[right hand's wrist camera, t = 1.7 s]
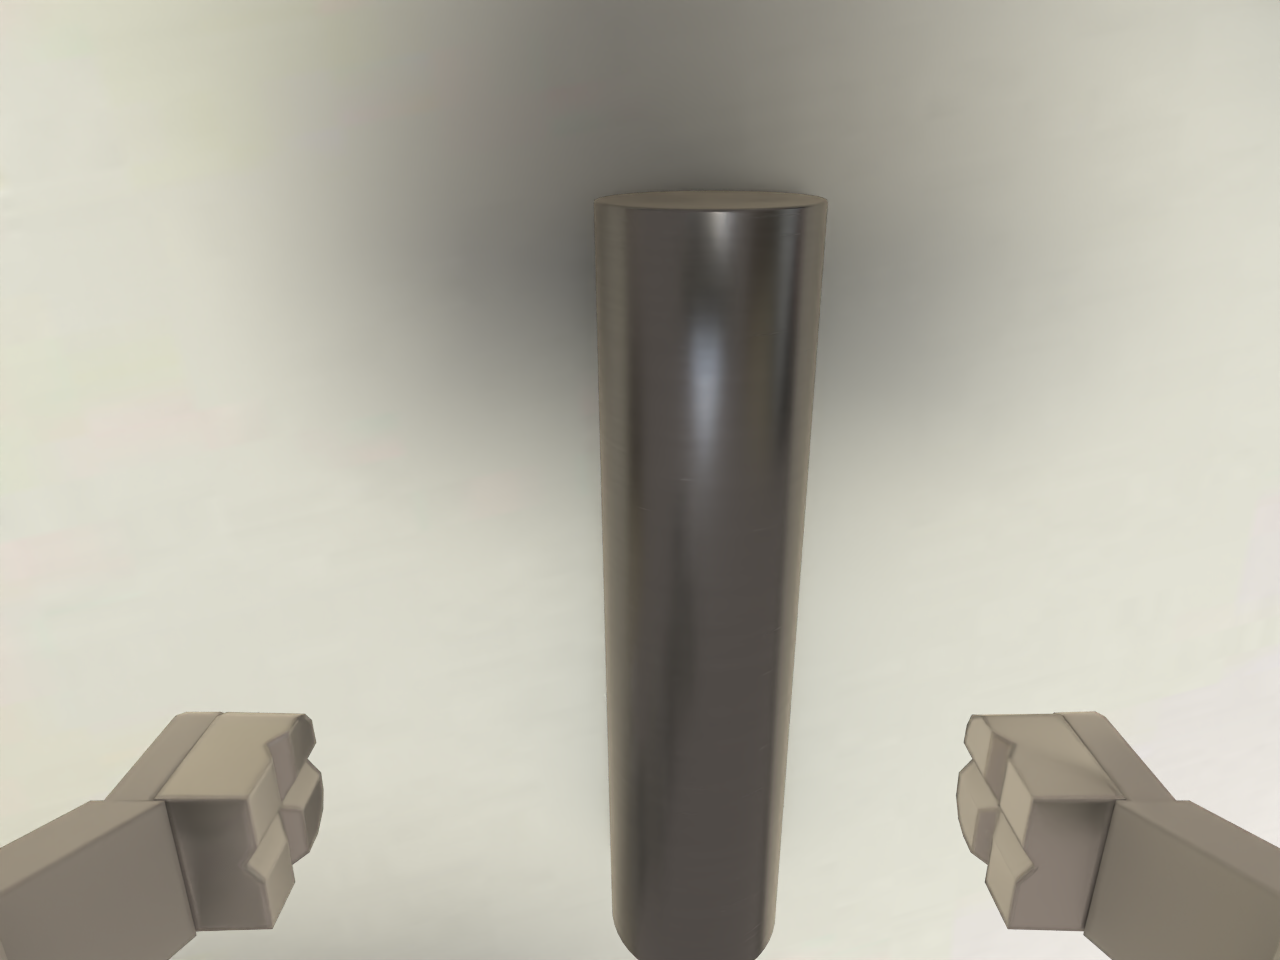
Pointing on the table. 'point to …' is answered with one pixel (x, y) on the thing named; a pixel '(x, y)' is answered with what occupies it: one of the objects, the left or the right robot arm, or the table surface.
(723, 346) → the rod
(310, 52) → the table surface
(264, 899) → the right robot arm
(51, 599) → the table surface
